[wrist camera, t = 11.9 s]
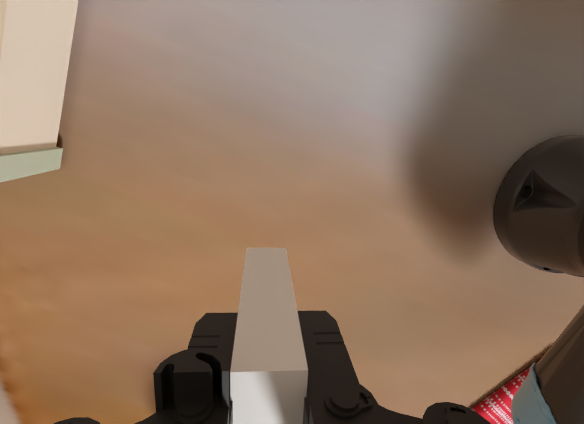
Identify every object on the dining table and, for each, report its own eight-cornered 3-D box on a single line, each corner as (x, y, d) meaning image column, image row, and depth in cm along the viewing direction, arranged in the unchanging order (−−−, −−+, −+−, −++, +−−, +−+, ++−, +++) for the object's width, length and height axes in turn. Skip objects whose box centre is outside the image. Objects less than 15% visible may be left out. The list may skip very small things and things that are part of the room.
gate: (76, -154, 26) (-73, -375, 14) (113, -139, 26) (-2, -340, 15) (32, 161, 31) (-99, 183, 20) (64, 169, 32) (-47, 196, 20)
